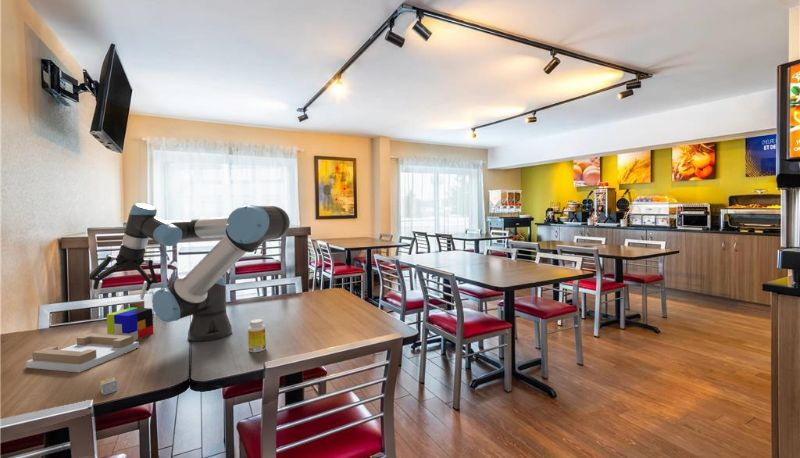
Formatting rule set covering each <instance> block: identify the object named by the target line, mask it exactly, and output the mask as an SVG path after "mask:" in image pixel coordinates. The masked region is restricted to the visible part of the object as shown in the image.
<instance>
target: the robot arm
mask: <svg viewBox="0 0 800 458" xmlns="http://www.w3.org/2000/svg"><path fill="white" fill-rule="evenodd" d="M130 208H131V209H130V211H129V213H128V218H127V221H126V226H125V230H124V233H123V237H122V241H121V244H120V248H119V252H118V253H117V255H116V256H115V255H112V254H111V253H108V254H106V255H105V259H104V260H103V261H102V262H100V264H99V265H98V266H97V267H95V268H94V270H93V271H92V272H91V273H90V274H89V280H91V281H94V282H93V286H92V287H93V290H95V293H94V299H95V300H97V299H99V295H100V292H101V289H102V285H103V280H104V279H105V278H107V277H108V276H110V275H112V274H113V273H115V272H116V271H118V270H120V269H122V270H132V271H134V270H137V272H138V273H139V274H140V275H141V276H142V277H143V279H144V282H143V285H142V288H141V292H140V295H139V298H140V300H144V298H145V295H146V292H149V291H150V289H151V288H150V287H151V285H153V284H155V283H158V279H157V278H158V277H157V276H156V273H155V270H154V267H153V263H154V261H153V258H152V257H148V258H144V257H145V255H146V254H145V253H146V250H147V246H148V245H149V244H148V243H149V240H150V239H152V240H153V241H155V242H156V243H158V244H161V245H163V246H166V247H173V246H175V245H176V244H178V243H179V242H180V241H185V240H200V239H209V238H213V239H214V238H222V239H220V240H219V242H218V243H217V244H215V246H213V248H211V249H210V251H208V253H207V254H205V255H204V257H203V258H201V259H200V261H199V262H198V263H197V264H196V265H195V266H194V267H193V268H192V269H191V270H190V271H189V272H188V273H187V274H184V275H180V276H178V277H177V278H176V279H175V280H174V281H173V282H172V283H171V284H170V285H169V286H166V287H162V288H159V289H158V290H156V291H155V292H154V294H153V296H152V299H151V304H152V310H153V312H154V313H155V315H156V316H157V317H158V318H159V319H160V320H161V321H163V322H166V323H172V322H176V321H180V320H181V319H184V318H187V317H190V316H192V319H191V321H190V324H189V328H188V331H187V338H188V340H190V341H193V342H206V341H207V342H208V341H214V340H219V339H222V338H225V337H227V336H229V335H231V333H232V332H233V327H232V324H231V321H230V319H229V317H228V316H229V315H228V314H227V290H226V287H227V286H226V279H225V277H223V276H224V275H226V273H227V272H228V271H229V270H230V269H232V267H233V266H234V265H236V263H238V261H239V260H241V258H243V256H244V255H245V254H246V253H254V252H255V251H256V250H257V249H259V248H260V246H262V244H263V243H265V242H266V241H272V240H277V239H280V238H282V237H284V236H285V235H286V234H287V233H288V231H289V229H290V226H291V225H290V224H291V220H290V217H289V215H288V213H287V212H286V211H285V210H284V209H283V208H281V207H279V206H275V205H255V204H249V205H243V206H238V207H237V208H235V209H234V210H232V212H230V214H229V216H219V217H218V216H217V217H209V218H207V217H206V218H196V219H195V218H194V219H183V220H182V219H180V220H178V219H177V220H176V219H175V220H171V219H170V220H165V219H162V218H160V217H159V216H157V213H158V212H157V211H158V209H157V208H156V207H155V206H153V205H151V204H148V203H142V202H141V203H134V204H133V205H132V206H131V207H130ZM114 261H115V263H114V264H113V265H111V266H110V267H108V265H109V264H110V263H112V262H114ZM144 263H145V265H147V266H148V269H149V272H150V275H151V277H149V275H148V274H147V273H146V271H145V270H144V269H143V267H142V266H141V265H143V264H144ZM106 267H108V268H107V269H106ZM104 269H105V270H104ZM103 270H104V271H103Z"/></svg>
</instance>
